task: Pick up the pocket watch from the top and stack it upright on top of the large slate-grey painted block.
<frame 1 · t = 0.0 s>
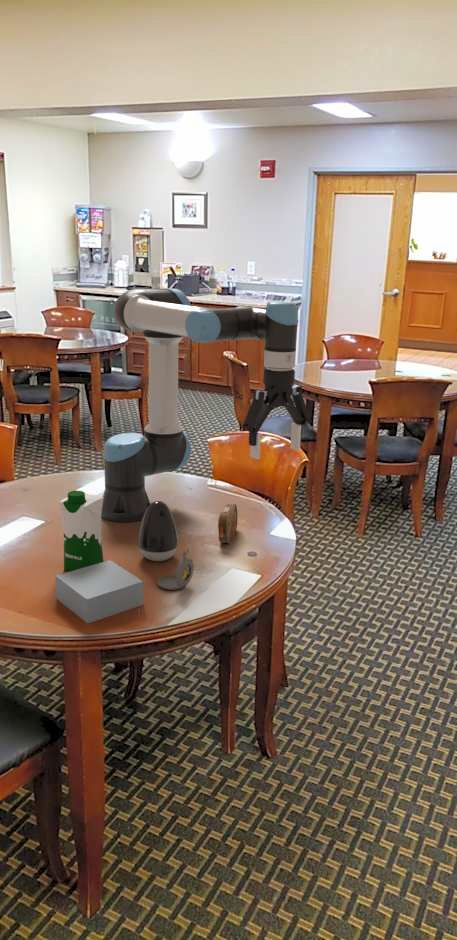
hand: (275, 453, 179), 28 cm above the table, tool pointing down, fingers open, 13 cm apart
milk carton: (84, 567, 179), on the table
pocket watch: (175, 587, 171), on the table
base block: (99, 602, 162), on the table
tin: (227, 537, 200), on the table
black glossy egg shape: (158, 558, 186), on the table
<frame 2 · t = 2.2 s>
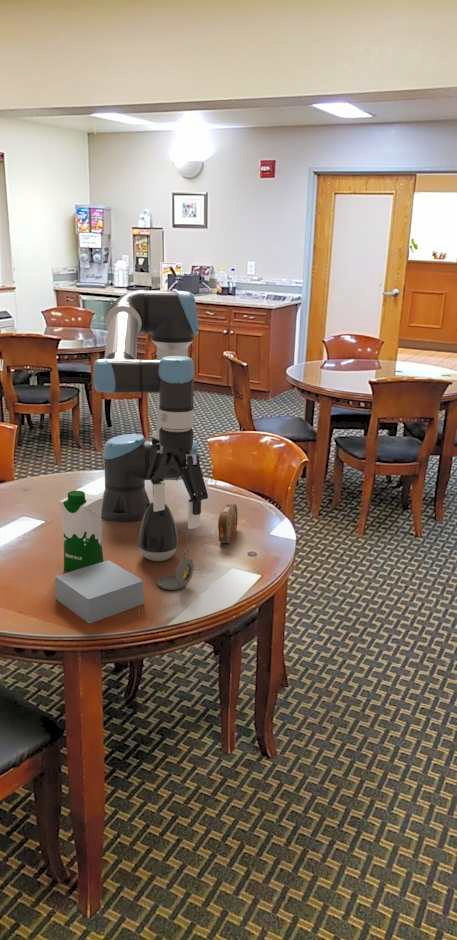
hand: (176, 518, 165), 17 cm above the table, tool pointing down, fingers open, 13 cm apart
nothing on the table moved.
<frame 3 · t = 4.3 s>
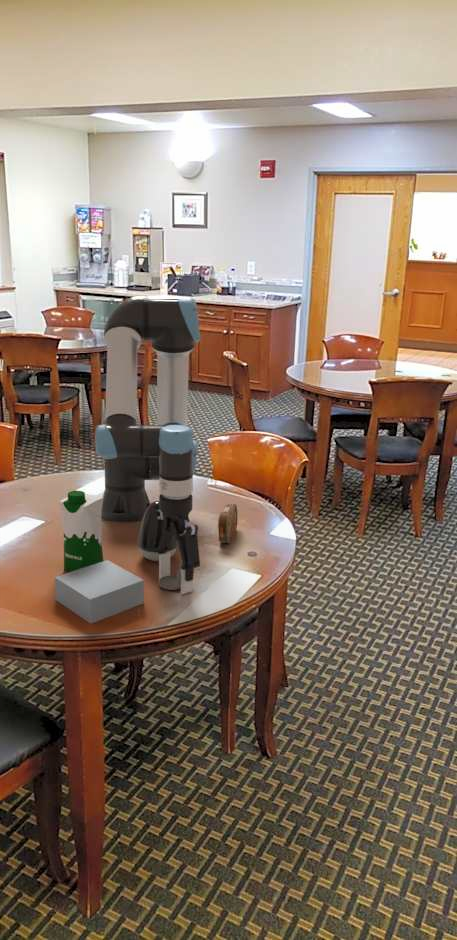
hand: (175, 585, 170), 0 cm above the table, tool pointing down, fingers closed on pocket watch, 8 cm apart
pocket watch: (176, 587, 170), on the table, touching gripper
everything else where it was.
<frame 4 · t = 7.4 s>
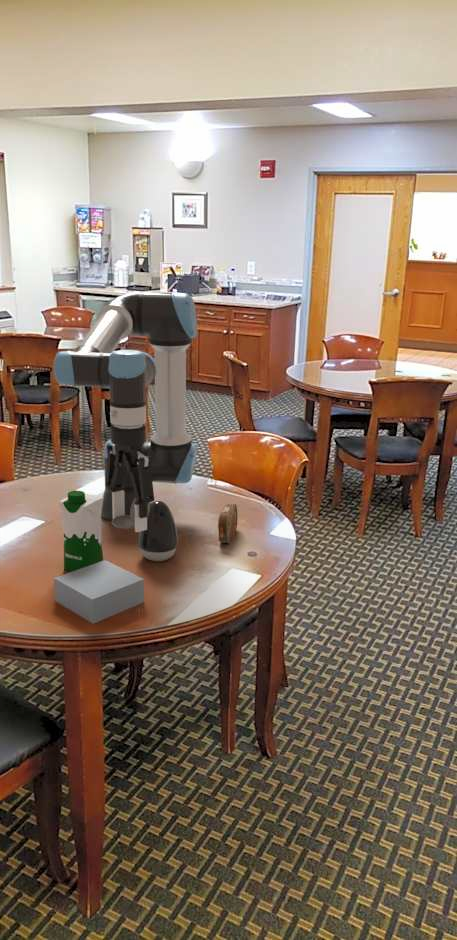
hand: (129, 524, 160), 17 cm above the table, tool pointing down, fingers closed on pocket watch, 8 cm apart
pocket watch: (130, 526, 160), point 17 cm above the table, touching gripper
everything else where it was.
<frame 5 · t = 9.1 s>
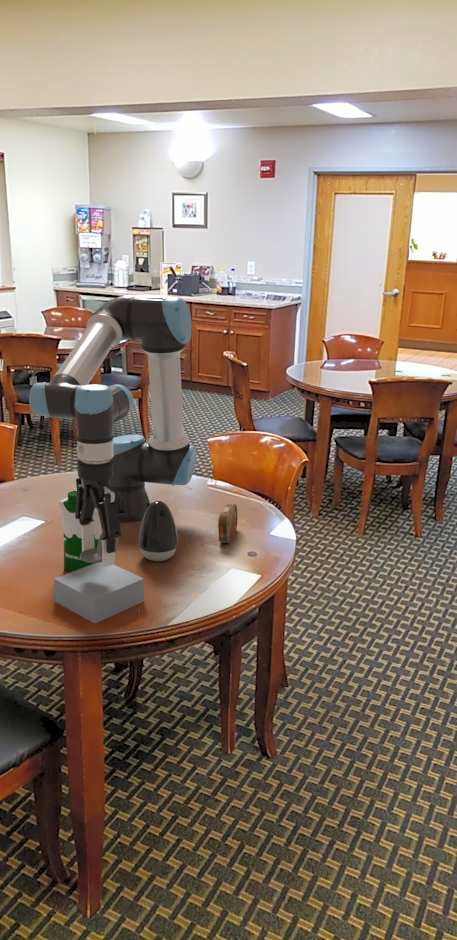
hand: (98, 558, 159), 11 cm above the table, tool pointing down, fingers closed on pocket watch, 8 cm apart
pocket watch: (99, 560, 159), point 10 cm above the table, touching gripper
everything else where it was.
when the fingers open (8 cm above the table, at t = 10.4 s): pocket watch drops 2 cm, point 5 cm above the table.
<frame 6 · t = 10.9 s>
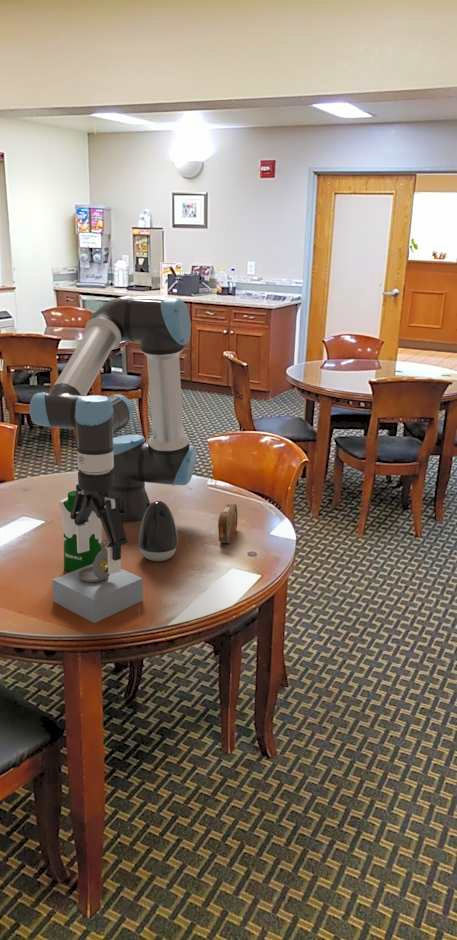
hand: (98, 561, 159), 10 cm above the table, tool pointing down, fingers open, 13 cm apart
pocket watch: (96, 579, 161), point 5 cm above the table
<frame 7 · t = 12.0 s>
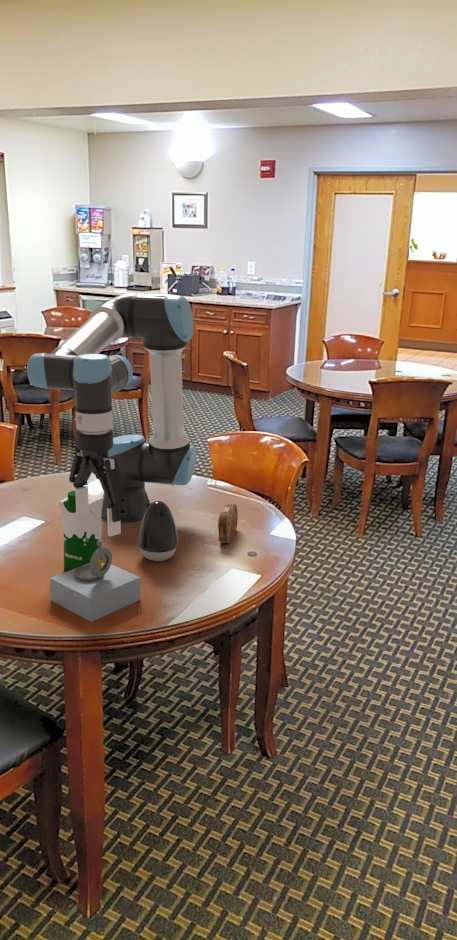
hand: (98, 524, 157), 18 cm above the table, tool pointing down, fingers open, 13 cm apart
pocket watch: (92, 577, 162), point 5 cm above the table, touching base block
base block: (96, 601, 163), on the table, touching pocket watch
everything else where it was.
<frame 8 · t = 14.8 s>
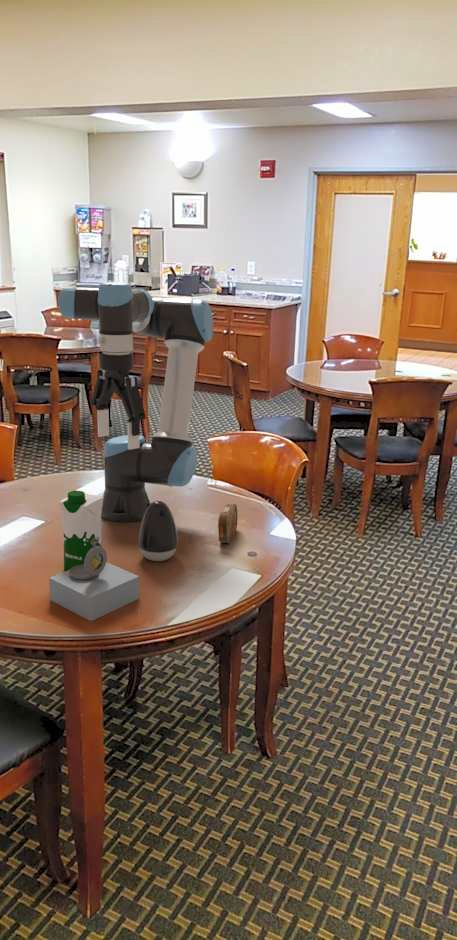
hand: (118, 442, 172), 32 cm above the table, tool pointing down, fingers open, 13 cm apart
pocket watch: (87, 577, 162), point 5 cm above the table, touching base block
everything else where it was.
at the end: pocket watch inside the target area on the base block (1.6 cm from its centre), point 5.8 cm above the base block's base; pocket watch tilted 1°; the gripper is holding nothing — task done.
